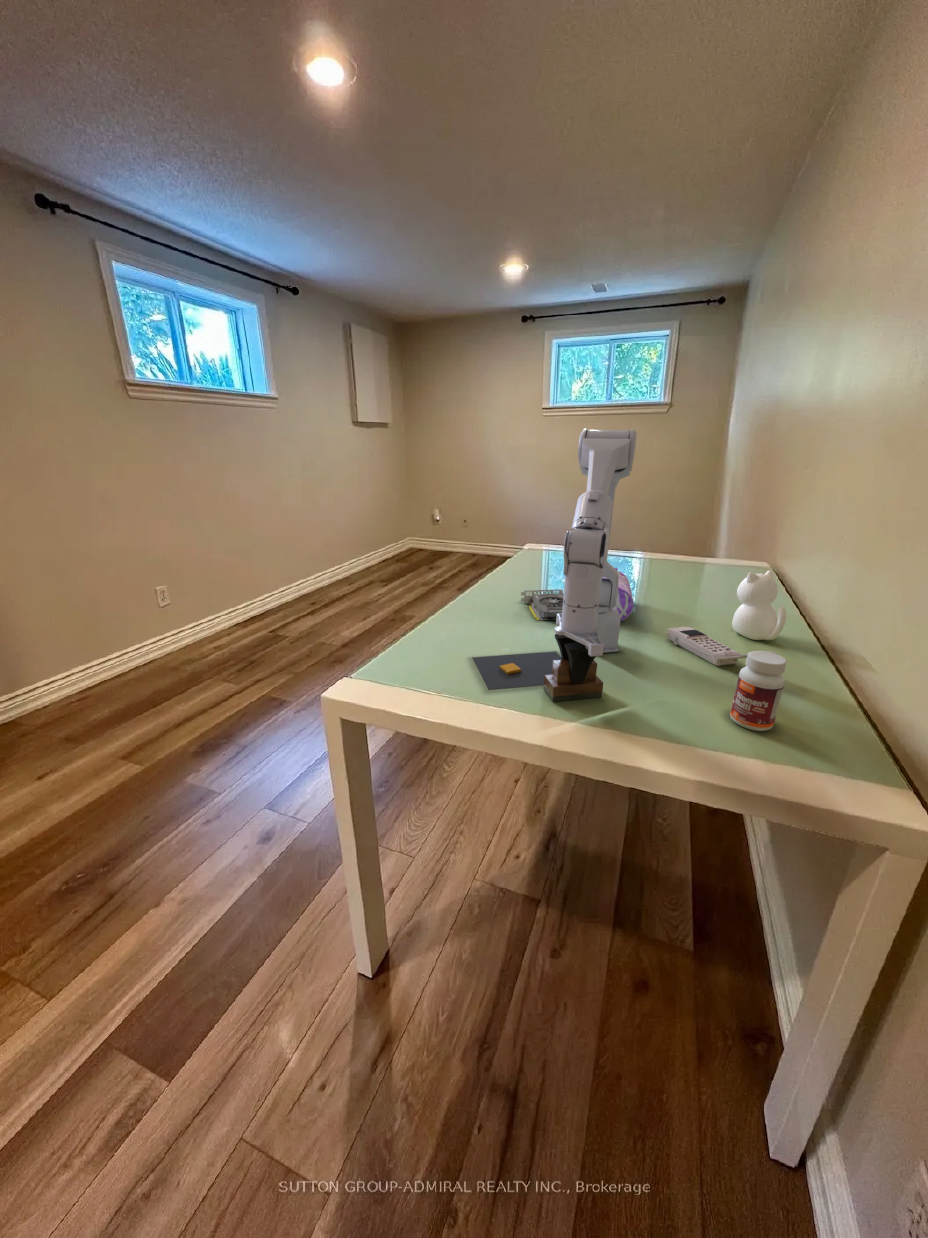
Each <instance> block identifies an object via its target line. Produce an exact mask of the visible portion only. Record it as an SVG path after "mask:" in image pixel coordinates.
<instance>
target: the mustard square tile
mask: <svg viewBox="0 0 928 1238" xmlns="http://www.w3.org/2000/svg"><path fill="white" fill-rule="evenodd" d="M500 669H501V670H502V671H504V672H505V673H506V674H512V673H517V672H521V669H520V668H519V667H518V666H516V665H515V664H514V663H510V664H506V665H501V666H500Z"/></svg>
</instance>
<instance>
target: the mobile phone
mask: <svg viewBox="0 0 928 1238" xmlns="http://www.w3.org/2000/svg"><path fill="white" fill-rule="evenodd" d="M666 637H667V638H668V639H669V640H670V641H672V642H673V644H674V645H676V646H679V647H681V648H682V649H685V650H686V651H688V652H690V653H691V654H693V655H695V656H697V657H699V658H701V659H702V660H705V661H706V662H708V663H710V664H712V665H714V666H716V667H719V666H727V665H735V664H736V663H737V662H738V660H740V659H747V656H748V653H745V654H741V653H740V651H736V650H735V649H732V648H731V647H729V646H727V645H725V644H723V643H721V642H719V641H718V640H716V639H714V638H711V637H710V636H709V635H708V634H707V633H705V632H703V631H701V630H699V629H696V628H692V627H689V626H680V627H679V626H678V627H671V628H670V627H668V628H667V630H666ZM770 652H771V653H774V654H777V652H776V651H774V650H773V651H770Z"/></svg>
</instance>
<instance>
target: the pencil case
mask: <svg viewBox="0 0 928 1238" xmlns="http://www.w3.org/2000/svg"><path fill="white" fill-rule="evenodd" d="M614 568H615V569H616V570H617V571H618V574H619V580H618V581H619V586H618V594H617V601H616V607H615V608H616V609H617V610H618V612H619V615H620V622H621V621H625V620H626V619H627V618H629V617H630V616H631V614H632V612H633V610H634V597H633V592H632V588H631V584H630V580H629V577H628V576H627V575H626V574H625V573H623V572H622V571H619V570H618V569H619V568H618V567H614ZM602 578H604V577H602ZM607 579H608V578H607Z"/></svg>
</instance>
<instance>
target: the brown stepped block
mask: <svg viewBox="0 0 928 1238" xmlns="http://www.w3.org/2000/svg"><path fill="white" fill-rule="evenodd" d="M597 672H598V662H596V661H595V659H594V660H593V662H592V664H591V665H590V667H589V670H588V672H587V675H586V677H585V680H584V682H580V683H572V682H571V679H570V663H569V659H566V660H553V670H552V675H544V685H543V688H542V689H543V691H544V692H545V694H546V695H547V696H548V698H549V700H551V702H552V703H553V702H563V701H564V702H565V701H574V700H575V701H576V700H583V699H584V700H585V699H595V698H602V697H603V690H604V682H603V680H601V678H599V676H597Z"/></svg>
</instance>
